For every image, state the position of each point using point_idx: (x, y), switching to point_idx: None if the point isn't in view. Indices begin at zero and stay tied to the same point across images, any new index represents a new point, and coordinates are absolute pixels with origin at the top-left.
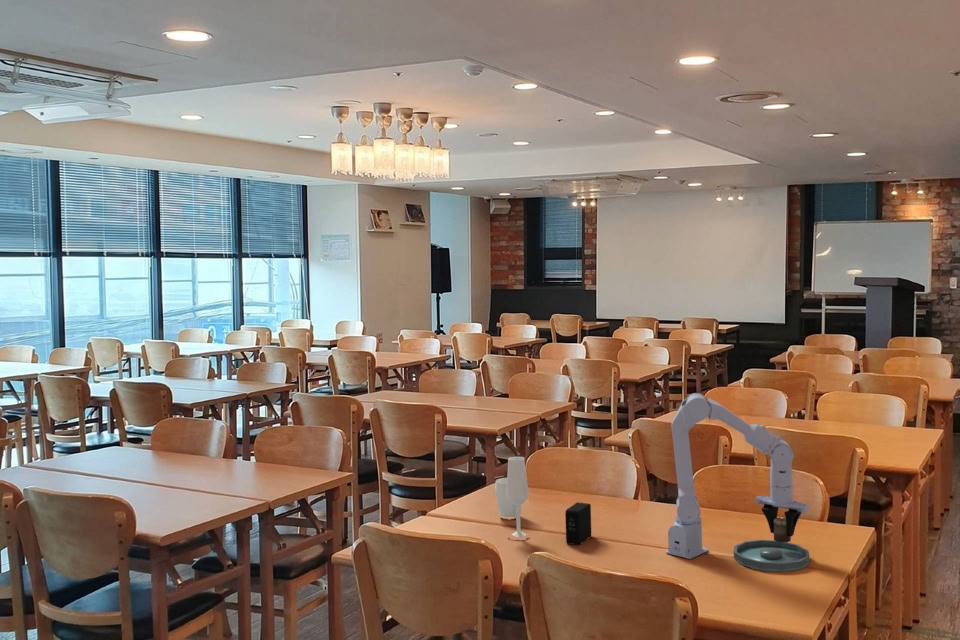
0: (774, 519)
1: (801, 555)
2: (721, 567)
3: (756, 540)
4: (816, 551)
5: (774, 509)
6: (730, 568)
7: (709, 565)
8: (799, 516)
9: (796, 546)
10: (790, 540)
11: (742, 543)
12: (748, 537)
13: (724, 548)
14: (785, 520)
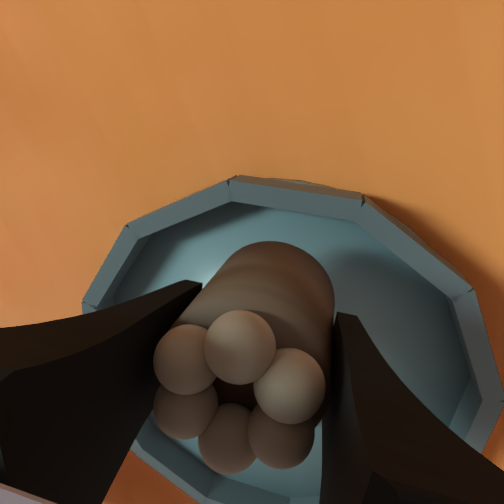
0: (160, 428)
1: (415, 285)
2: (159, 495)
3: (114, 252)
4: (477, 78)
5: (56, 466)
6: (188, 496)
7: (120, 488)
8: (476, 460)
9: (362, 227)
10: (334, 297)
11: None
12: (6, 65)
13: (42, 304)
14: (282, 456)
